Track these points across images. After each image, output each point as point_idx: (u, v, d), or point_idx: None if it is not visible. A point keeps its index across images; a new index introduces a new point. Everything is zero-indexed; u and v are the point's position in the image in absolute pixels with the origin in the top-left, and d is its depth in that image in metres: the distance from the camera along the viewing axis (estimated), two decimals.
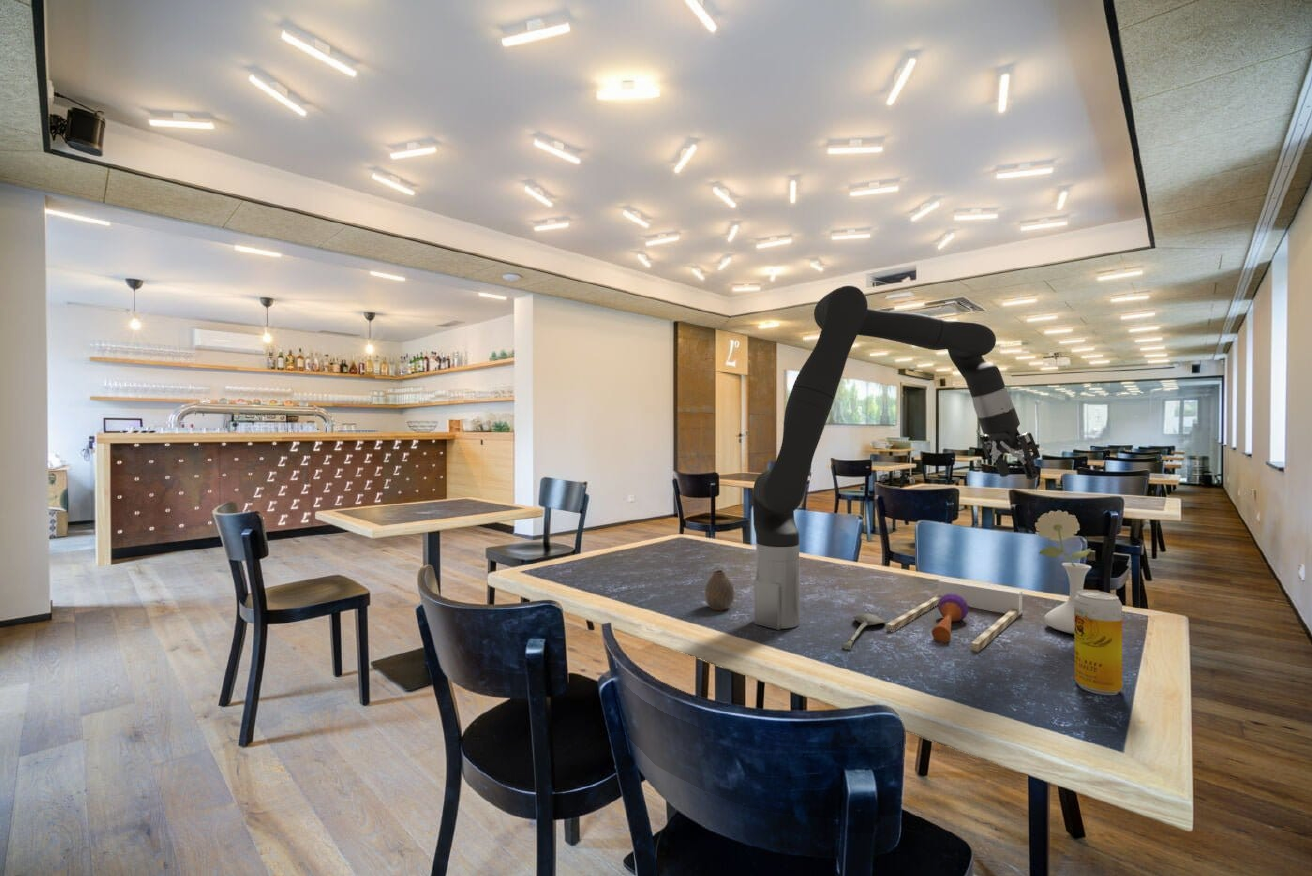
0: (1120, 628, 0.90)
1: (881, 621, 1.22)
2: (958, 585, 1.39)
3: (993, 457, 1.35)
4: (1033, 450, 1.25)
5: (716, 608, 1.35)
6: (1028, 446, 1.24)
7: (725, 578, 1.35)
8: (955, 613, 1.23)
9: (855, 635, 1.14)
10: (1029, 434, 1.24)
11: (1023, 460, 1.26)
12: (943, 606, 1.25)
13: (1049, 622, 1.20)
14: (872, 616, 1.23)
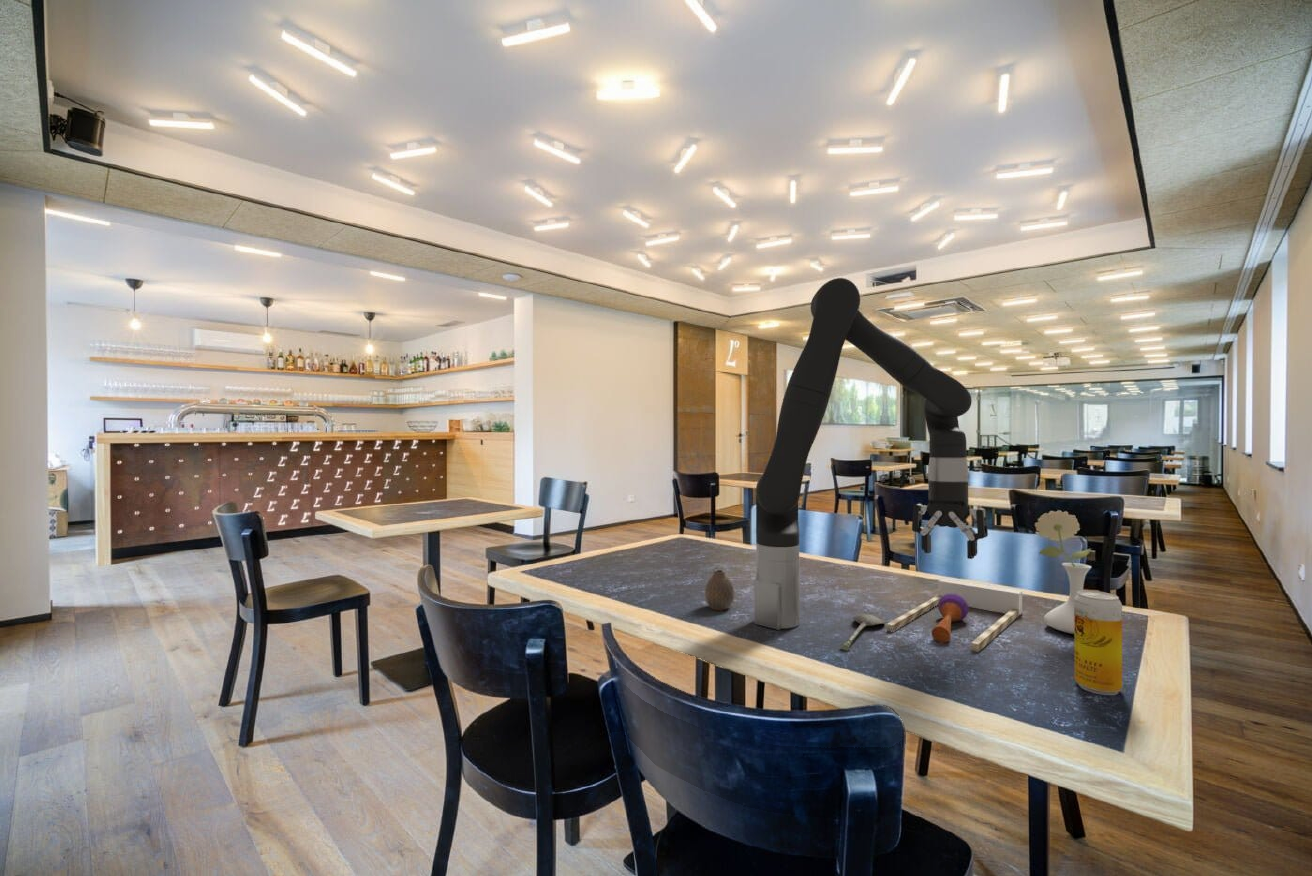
0: (1120, 628, 0.90)
1: (880, 622, 1.22)
2: (958, 585, 1.39)
3: (924, 529, 1.24)
4: None
5: (716, 608, 1.35)
6: (984, 522, 1.17)
7: (725, 578, 1.35)
8: (955, 613, 1.23)
9: (854, 636, 1.13)
10: None
11: (972, 536, 1.18)
12: (943, 606, 1.25)
13: (1049, 622, 1.20)
14: (871, 617, 1.23)
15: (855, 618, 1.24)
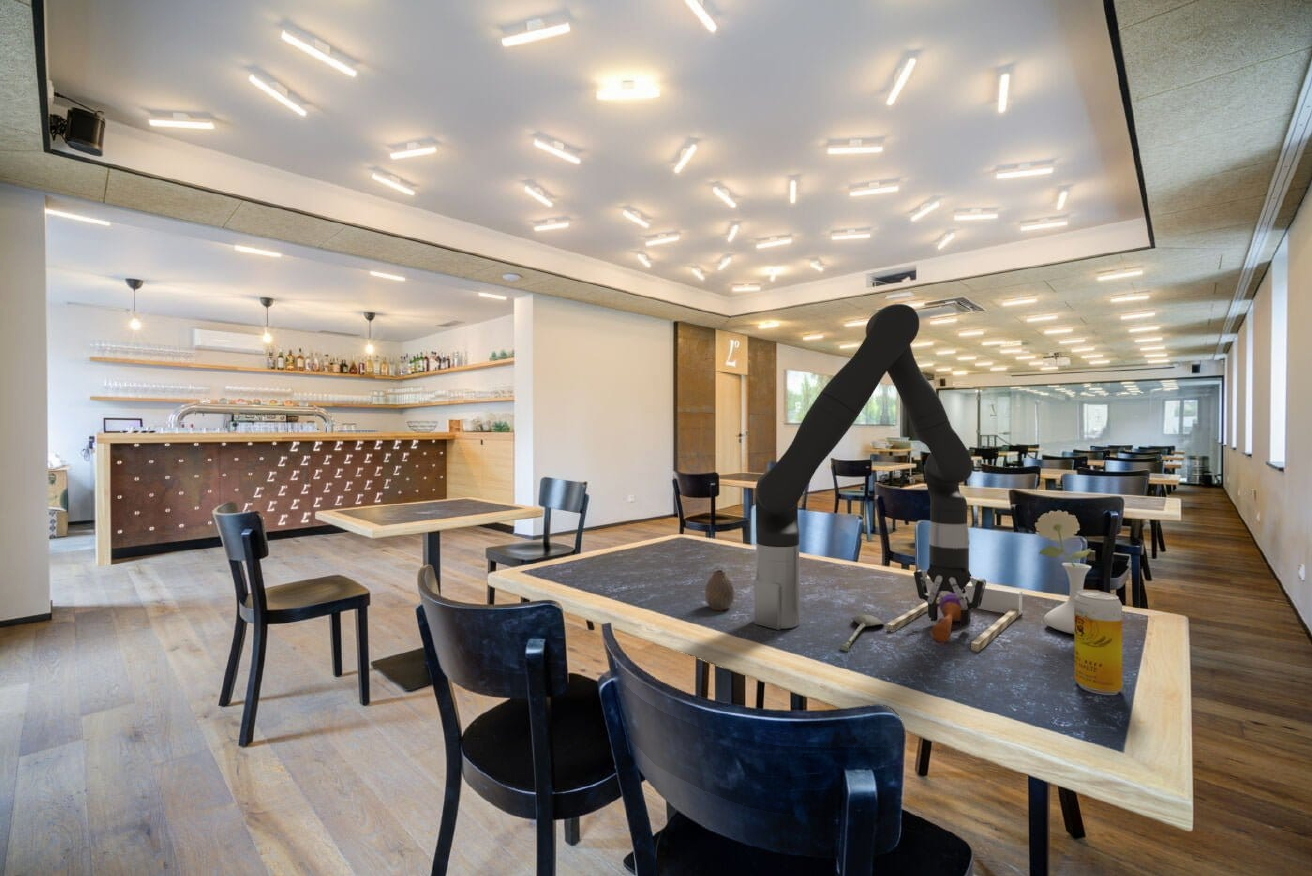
0: (1120, 628, 0.90)
1: (880, 622, 1.21)
2: None
3: (930, 597, 1.23)
4: None
5: (716, 608, 1.35)
6: (981, 594, 1.17)
7: (725, 578, 1.35)
8: (956, 613, 1.22)
9: (853, 637, 1.13)
10: (985, 581, 1.18)
11: (965, 605, 1.18)
12: (944, 606, 1.25)
13: (1049, 622, 1.20)
14: (870, 617, 1.22)
15: (854, 618, 1.23)
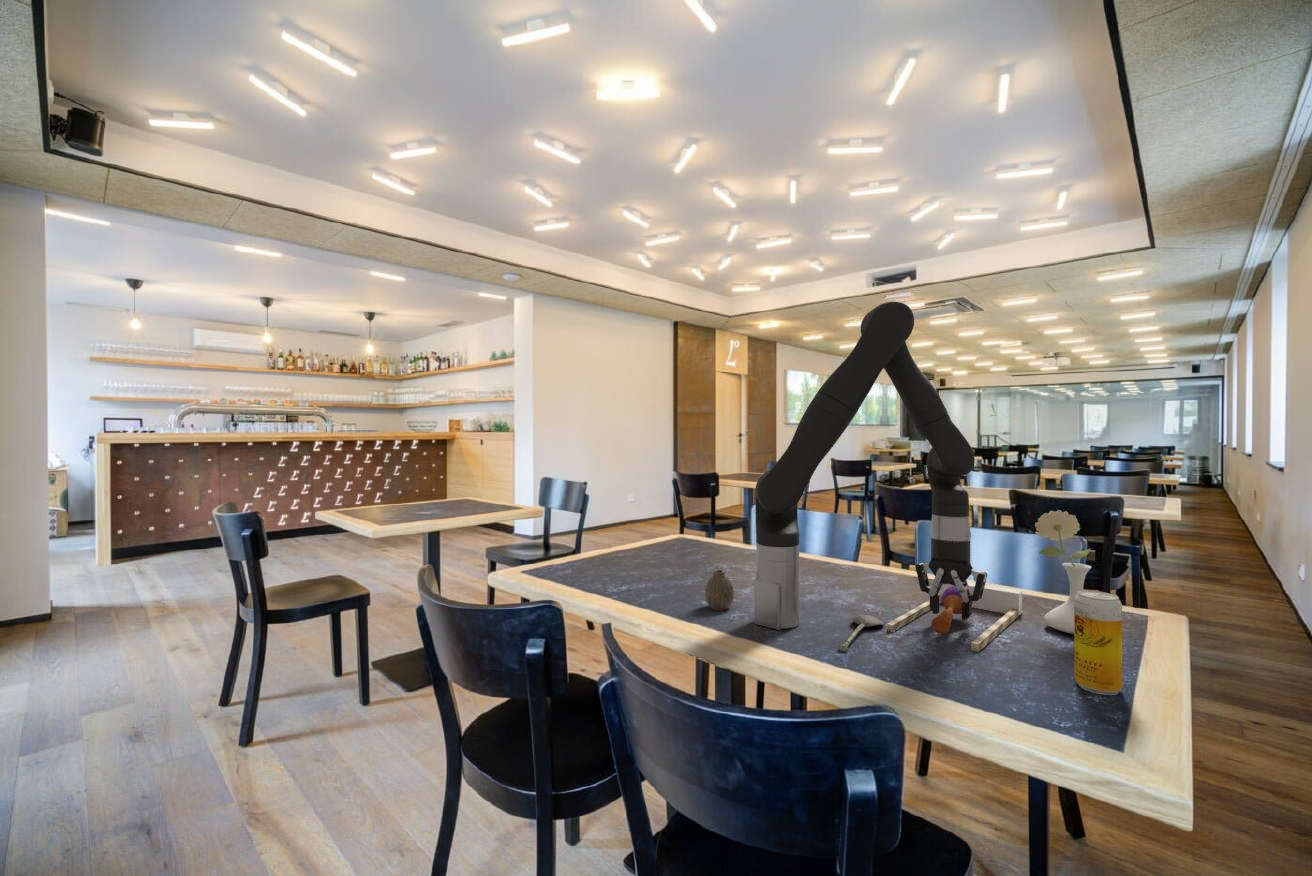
0: (1120, 628, 0.90)
1: (879, 622, 1.21)
2: None
3: (932, 590, 1.24)
4: None
5: (716, 608, 1.35)
6: (982, 586, 1.18)
7: (725, 578, 1.35)
8: (958, 605, 1.23)
9: (852, 637, 1.13)
10: (986, 574, 1.18)
11: (966, 598, 1.19)
12: (946, 598, 1.26)
13: (1049, 622, 1.20)
14: (870, 617, 1.22)
15: (854, 619, 1.23)
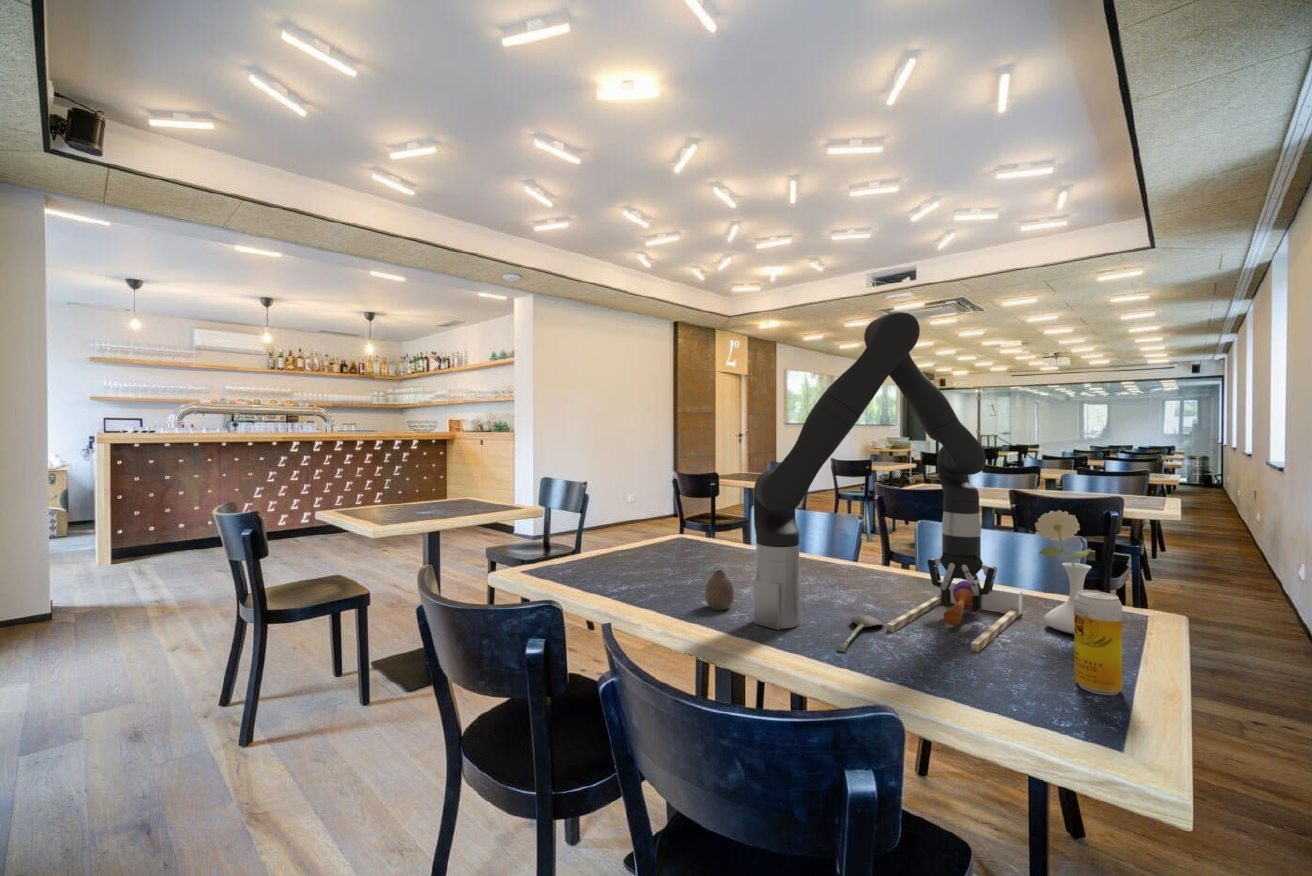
0: (1120, 628, 0.90)
1: (878, 623, 1.21)
2: None
3: (943, 584, 1.29)
4: None
5: (716, 608, 1.35)
6: (992, 580, 1.23)
7: (725, 578, 1.35)
8: (968, 599, 1.28)
9: (851, 637, 1.13)
10: (996, 569, 1.23)
11: (977, 591, 1.24)
12: (957, 592, 1.31)
13: (1049, 622, 1.20)
14: (869, 618, 1.22)
15: (853, 619, 1.23)
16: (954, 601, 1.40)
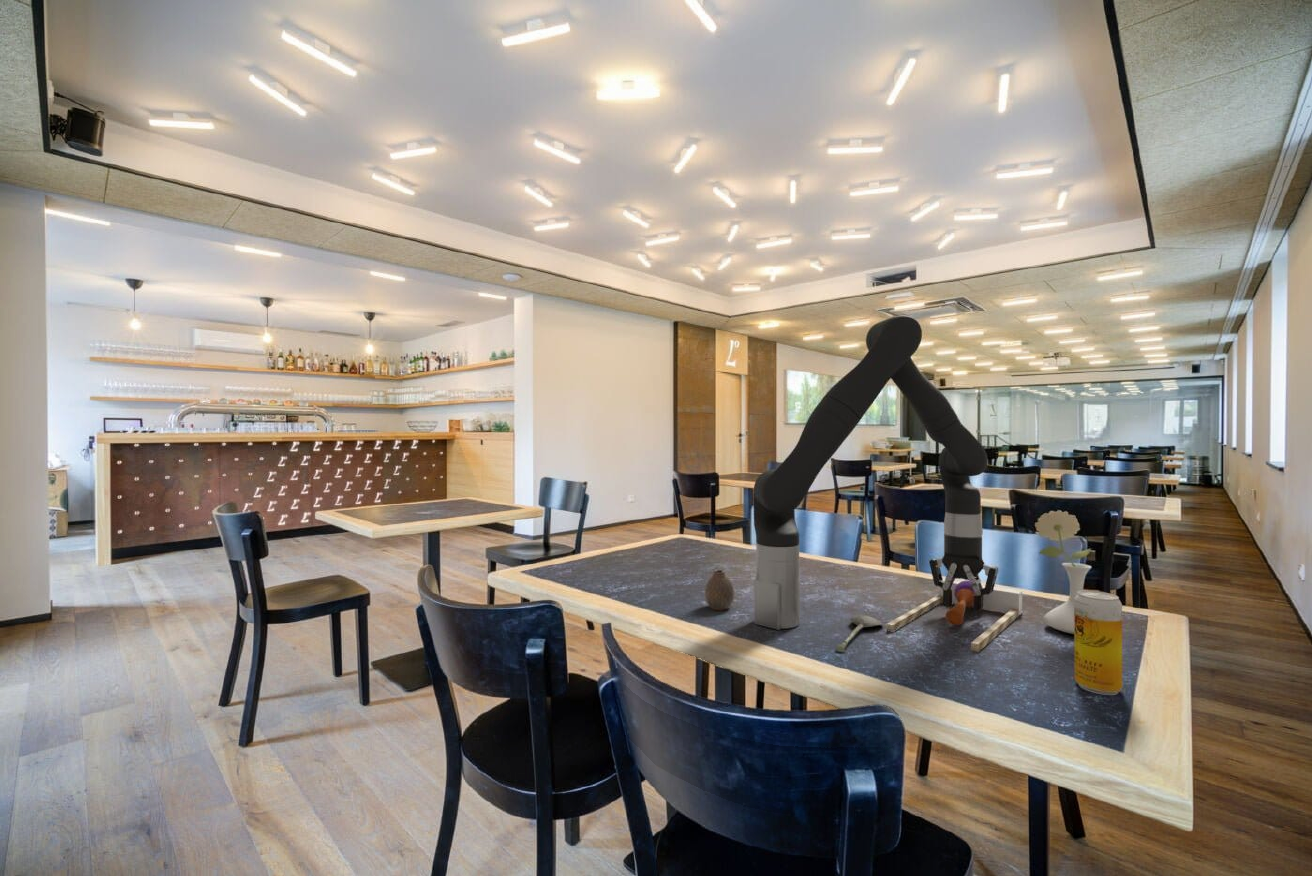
0: (1120, 628, 0.90)
1: (878, 623, 1.21)
2: None
3: (945, 584, 1.30)
4: None
5: (716, 608, 1.35)
6: (993, 580, 1.24)
7: (725, 578, 1.35)
8: (970, 599, 1.29)
9: (850, 637, 1.12)
10: (997, 569, 1.25)
11: (978, 591, 1.25)
12: (958, 592, 1.32)
13: (1049, 622, 1.20)
14: (869, 618, 1.22)
15: (852, 619, 1.23)
16: (954, 601, 1.40)
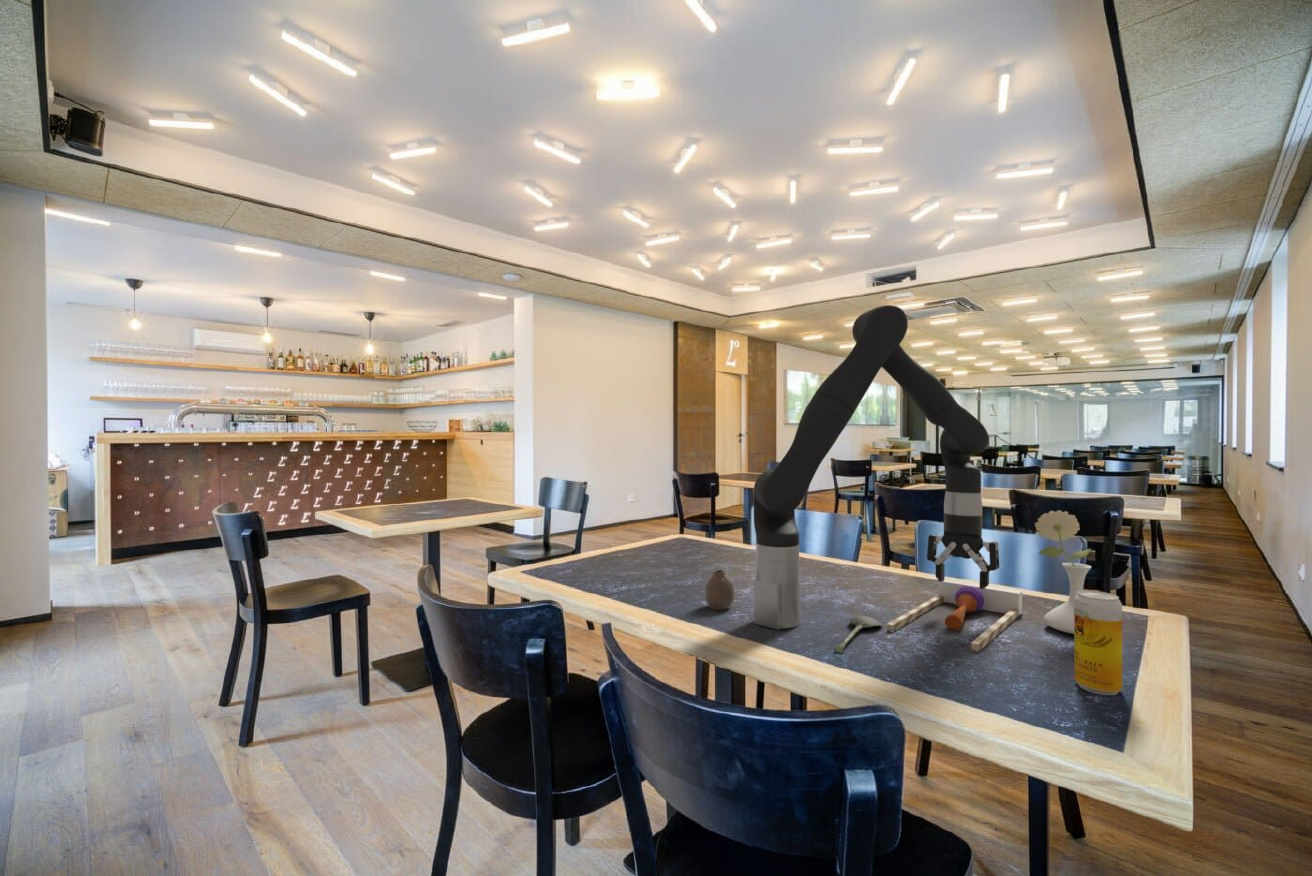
0: (1120, 628, 0.90)
1: (877, 624, 1.20)
2: (958, 585, 1.39)
3: (939, 559, 1.31)
4: None
5: (716, 608, 1.35)
6: (996, 555, 1.24)
7: (725, 578, 1.35)
8: (970, 604, 1.29)
9: (848, 638, 1.12)
10: (997, 543, 1.25)
11: (985, 568, 1.25)
12: (959, 598, 1.32)
13: (1049, 622, 1.20)
14: (868, 619, 1.21)
15: (851, 620, 1.22)
16: (954, 601, 1.40)
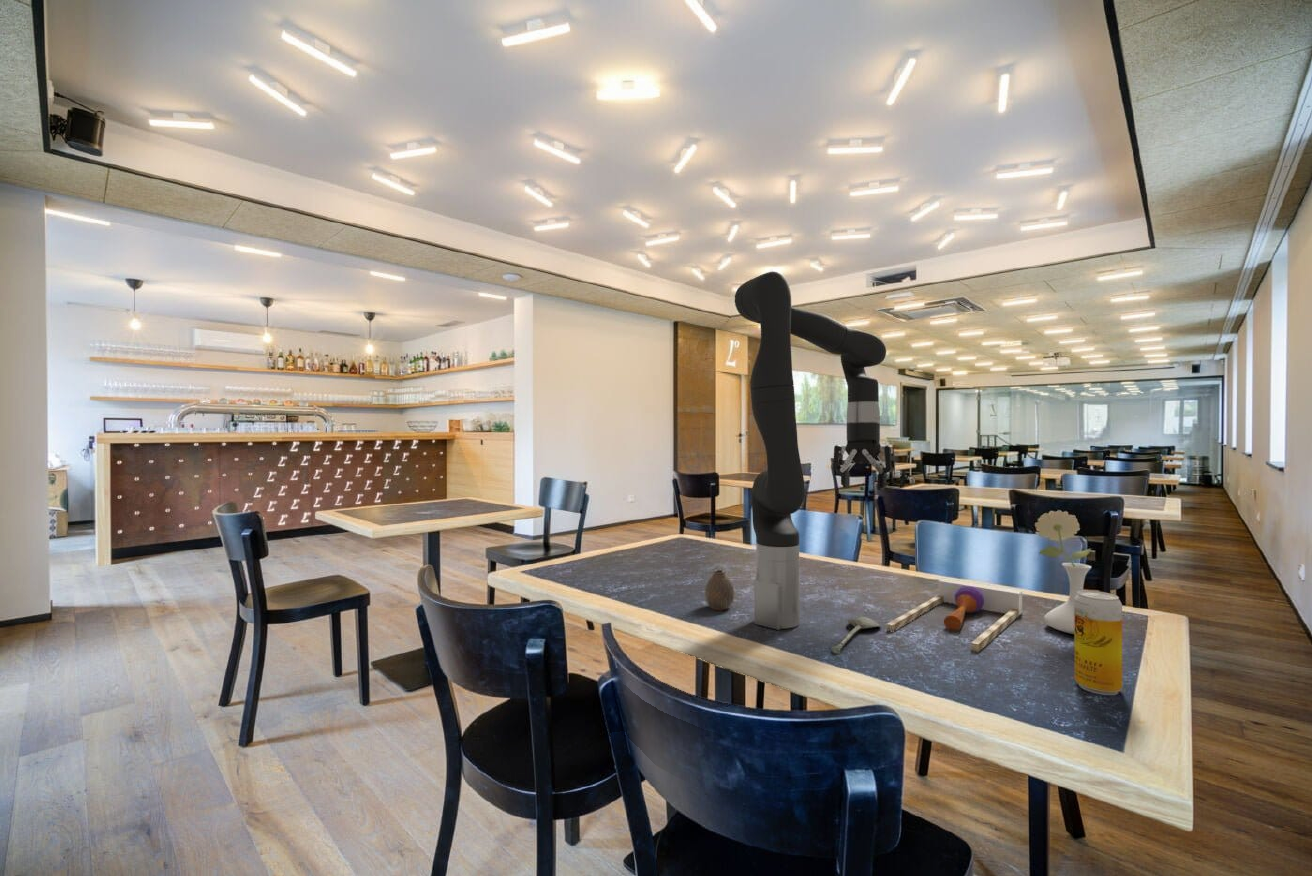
0: (1120, 628, 0.90)
1: (875, 625, 1.20)
2: (958, 585, 1.39)
3: (843, 467, 1.40)
4: (890, 463, 1.34)
5: (716, 608, 1.35)
6: (891, 457, 1.33)
7: (725, 578, 1.35)
8: (969, 604, 1.29)
9: (846, 639, 1.12)
10: (892, 447, 1.34)
11: (881, 470, 1.34)
12: (958, 598, 1.32)
13: (1049, 622, 1.20)
14: (866, 619, 1.21)
15: (850, 621, 1.22)
16: (954, 601, 1.40)
